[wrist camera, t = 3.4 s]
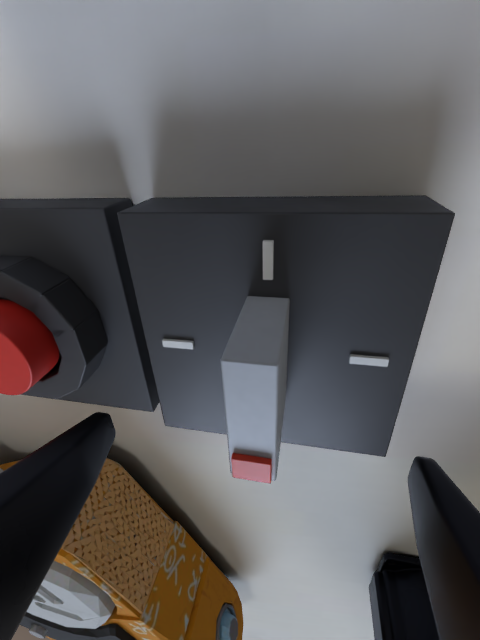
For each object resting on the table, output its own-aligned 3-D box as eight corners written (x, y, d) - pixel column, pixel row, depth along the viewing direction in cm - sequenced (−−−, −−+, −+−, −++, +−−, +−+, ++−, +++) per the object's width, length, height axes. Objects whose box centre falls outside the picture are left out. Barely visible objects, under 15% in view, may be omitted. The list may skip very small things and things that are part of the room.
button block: (131, 197, 14) (73, 218, 11) (169, 386, 20) (138, 438, 16) (-50, 199, 16) (-146, 217, 13) (30, 370, 22) (-22, 414, 18)
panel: (426, 194, 12) (458, 214, 9) (376, 410, 17) (386, 460, 15) (152, 197, 14) (113, 213, 11) (184, 387, 20) (163, 428, 17)
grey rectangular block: (246, 295, 12) (217, 364, 9) (289, 297, 12) (278, 370, 8) (250, 394, 15) (228, 480, 11) (285, 398, 14) (275, 488, 11)
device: (53, 680, 34) (-233, 512, 22) (98, 585, 41) (-102, 420, 29) (244, 722, 25) (-65, 479, 13) (260, 592, 32) (65, 360, 20)
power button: (41, 301, 14) (8, 322, 12) (70, 374, 16) (45, 400, 14) (-35, 296, 14) (-76, 315, 13) (2, 367, 16) (-30, 390, 15)
